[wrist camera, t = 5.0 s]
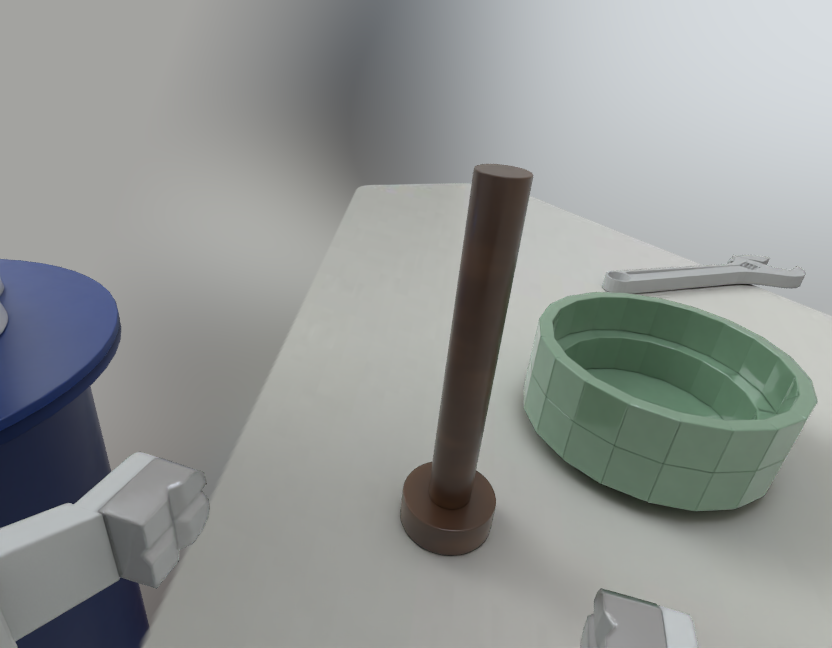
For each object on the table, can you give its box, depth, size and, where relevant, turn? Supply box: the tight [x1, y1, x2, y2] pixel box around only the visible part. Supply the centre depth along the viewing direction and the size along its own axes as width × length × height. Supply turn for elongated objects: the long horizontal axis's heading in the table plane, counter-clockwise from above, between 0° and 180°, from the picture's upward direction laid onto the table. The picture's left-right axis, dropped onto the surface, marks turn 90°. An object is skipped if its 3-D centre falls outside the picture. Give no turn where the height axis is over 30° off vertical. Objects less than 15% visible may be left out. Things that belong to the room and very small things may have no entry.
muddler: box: [401, 164, 533, 555], centre depth 22 cm, size 4×4×17 cm
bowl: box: [524, 292, 817, 511], centre depth 32 cm, size 15×15×6 cm
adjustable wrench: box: [602, 255, 806, 294], centre depth 57 cm, size 25×6×2 cm, turn 104°
